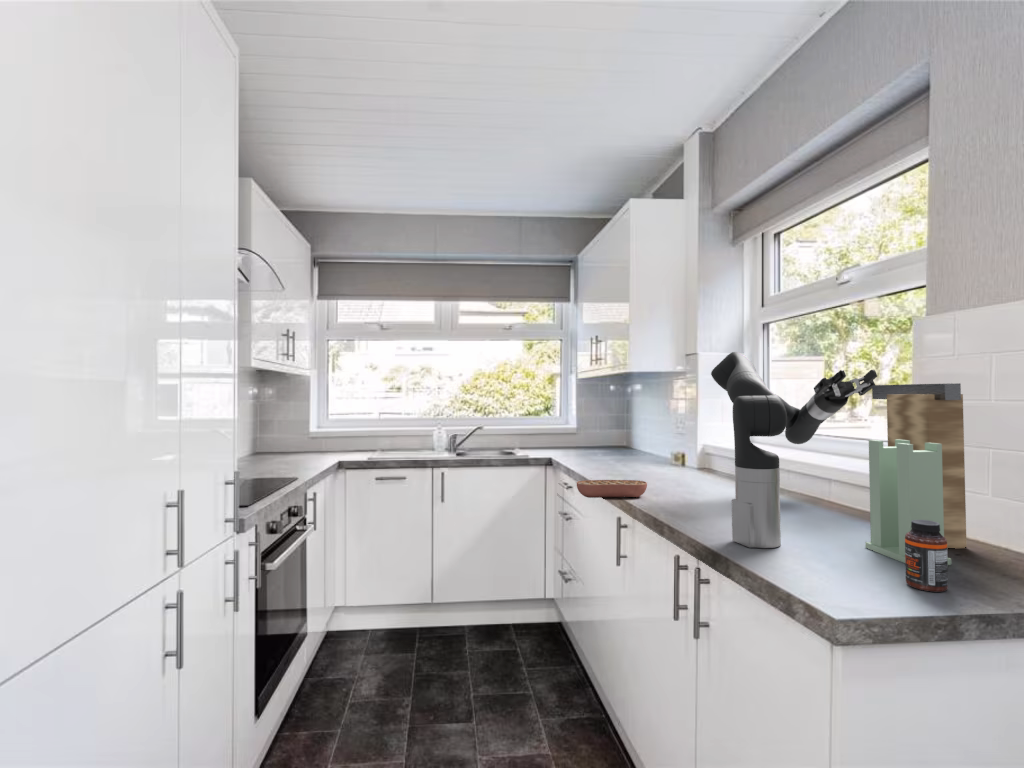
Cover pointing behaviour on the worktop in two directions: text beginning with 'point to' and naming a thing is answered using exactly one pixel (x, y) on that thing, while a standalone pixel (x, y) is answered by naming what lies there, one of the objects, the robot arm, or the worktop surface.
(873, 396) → the rail
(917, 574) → the supplement bottle
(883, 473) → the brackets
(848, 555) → the worktop surface
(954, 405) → the wooden block
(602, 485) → the bread loaf
